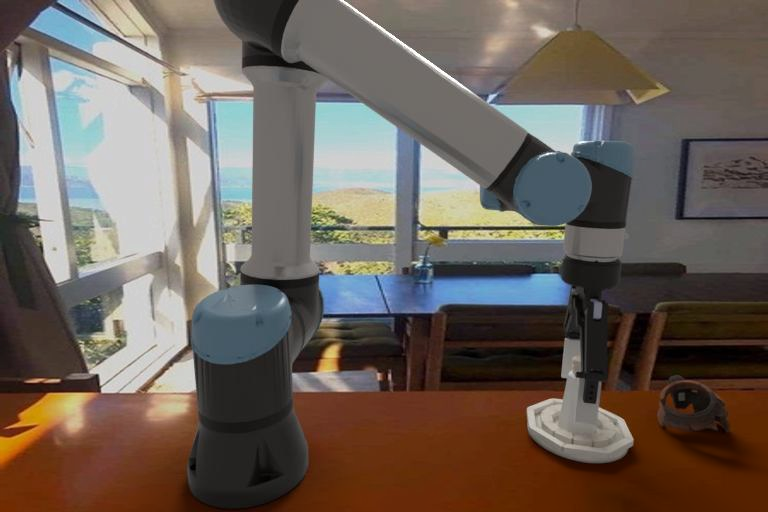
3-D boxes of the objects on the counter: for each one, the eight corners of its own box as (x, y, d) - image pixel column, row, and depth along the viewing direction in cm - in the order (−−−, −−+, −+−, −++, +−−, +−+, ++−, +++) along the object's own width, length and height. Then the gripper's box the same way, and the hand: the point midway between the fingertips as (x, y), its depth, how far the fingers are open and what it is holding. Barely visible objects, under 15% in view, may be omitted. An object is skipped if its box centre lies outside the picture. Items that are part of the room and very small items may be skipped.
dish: (530, 454, 65) (531, 441, 65) (524, 405, 78) (525, 394, 78) (641, 470, 62) (642, 456, 61) (615, 415, 75) (617, 404, 75)
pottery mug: (749, 447, 68) (740, 408, 65) (682, 467, 70) (669, 430, 67) (701, 389, 79) (690, 354, 76) (644, 408, 81) (631, 374, 78)
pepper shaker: (601, 440, 67) (608, 367, 65) (561, 436, 68) (567, 365, 66) (590, 420, 72) (597, 352, 70) (553, 417, 73) (559, 350, 71)
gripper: (649, 278, 52) (626, 451, 56) (602, 243, 76) (588, 366, 80) (577, 274, 54) (560, 441, 58) (553, 240, 78) (542, 361, 82)
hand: (577, 398), depth 69 cm, fingers open, 13 cm apart
